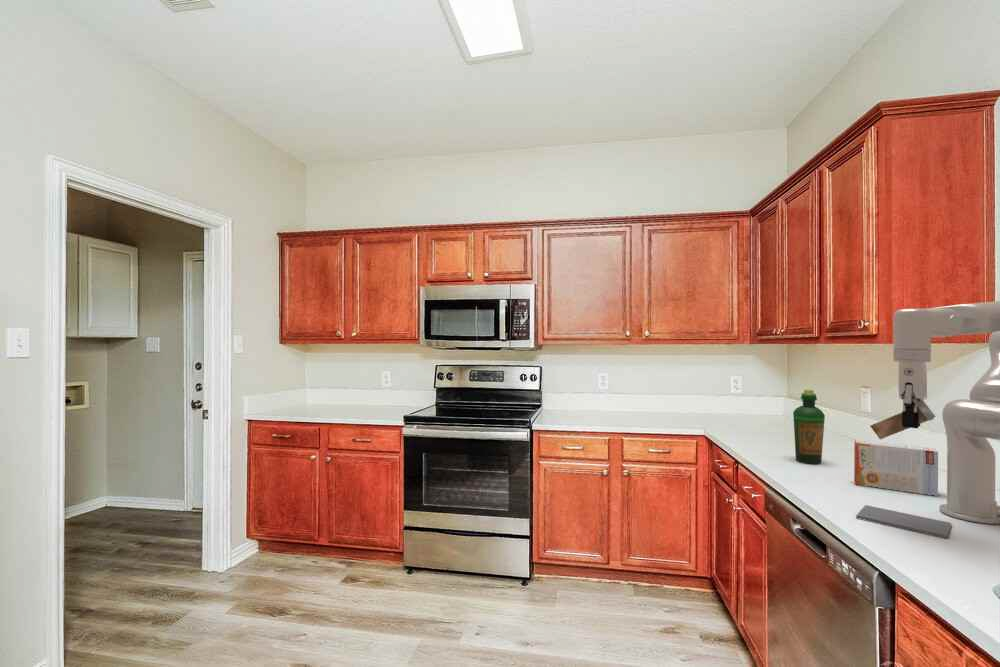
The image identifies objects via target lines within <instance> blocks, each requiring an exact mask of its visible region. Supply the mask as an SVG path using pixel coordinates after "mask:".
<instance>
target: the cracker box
mask: <svg viewBox="0 0 1000 667" xmlns="http://www.w3.org/2000/svg"><path fill="white" fill-rule="evenodd" d="M853 452H854V454H853V455H854V462H853V463H854V466H853V467H854V469H853V470H854V471H853V472H854V474H853V479H854V480H853V481H854V484H855V485H856V484H861V485H860V486H863V485H866V486H865V487H870V486H872V487H871V488H876V487H878V489H883V488H886V489H885V490H890V489H894V490H893V491H897V490H900V491H899V492H904V491H907V492H906V493H911V492H913V493H912V494H918V493H919V494H918V495H925V494H927V496H931V495H934V496H933V497H938V496H939V452H938V451H937V449H936V448H931V447H923V446H912V445H904V444H895V443H885V442H875V441H869V440H868V441H866V440H857V439H856V440H854V450H853Z"/></svg>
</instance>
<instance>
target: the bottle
mask: <svg viewBox="0 0 1000 667" xmlns="http://www.w3.org/2000/svg"><path fill="white" fill-rule="evenodd" d="M814 391H815V390H813V389H804V390H803V392H802V393H801V397H800V400H802V401H801V402H802V405H800V406H798V407H796V408H795V409H794V410H793V415H792V416H793V430H794V431H793V432H794V433H793V434H794V449H795V450H794V451H795V452H794V453H795V460H796V461H797V462H799V463H803V464H806V465H807V464H809V465H818V464H821V463H822V458H823V445H824V444H823V443H824V431H825V430H824V429H825V417H826V416H825V414H824V412H823V411H822V409H820V408H819V407H817V406H816V401H817V400H818V398H817V394H816V393H814Z"/></svg>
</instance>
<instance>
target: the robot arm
mask: <svg viewBox="0 0 1000 667" xmlns="http://www.w3.org/2000/svg"><path fill="white" fill-rule="evenodd" d="M987 333H991V334H990V335H989V338H988V350H989V356H990V363H991V364H990V367H989V368H988V369H987V371H986V372H984V373H983V375H982V376H981V377H980V378H979V379H978V380H977V381H976V382H975V384H974V385H973V386H972V387H971V389H970V391H969V399H965V398H964V399H961V398H960V399H955V400H951V401H949V402H947V403H946V404H945V405H944V407H943V409H942V421H943V426H944V430H945V435H946V448H947V449H946V450H947V451H946V452H947V454H946V457H947V458H946V503H942V504H940V505H939V507H938V508H939V511H940V512H942V513H943V514H944V515H947V516H950V517H952V518H956V519H960V520H964V521H968V522H972V523H973V522H974V523H981V524H991V525H996V524H1000V505H998V501H996V453H995V450H994V448H993V446H992V445H991V443H990V442H989V441H988V439H993V440H999V441H1000V300H997V301H996V300H994V301H986V302H984V301H983V302H975V303H974V302H973V303H961V304H953V305H947V306H939V307H937V306H936V307H929V308H928V307H927V308H901V309H897V310H895V311H894V313H893V332H892V334H893V343H892V345H893V346H892V347H893V353H892V354H893V355H892V356H893V357H892V358H893V362H898V377H897V378H898V397H899V398H900V399H901V400H902V411H901V412H902V426H903V427H909V428H908V429H911V428H912V429H918V428H919V427H920V426H921V424H919V413H917V405H916V404H915V403H914V402H913V400H912V399H914V398H916V399H920V401H925V400H926V399H927V398H928V384H927V383H928V380H927V379H928V376H927V374H928V373H927V363H931V362H932V338H950V337H953V336H964V335H965V336H969V335H980V334H987Z"/></svg>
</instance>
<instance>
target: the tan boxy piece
mask: <svg viewBox="0 0 1000 667" xmlns="http://www.w3.org/2000/svg"><path fill="white" fill-rule="evenodd" d="M912 400H913V402H914V403H915V404H916V405H917V413H919V424H920V425H921V424H923V423H926V422H928V421H929V422H930V421H932V420H934V419H935V417H936V416H937V415H935V414H934V413H933V412H934V411H932V410H931V409H930V406H928V404H927V403H926V402H925V400H923V401H920V399H916V398H914V399H912ZM869 427H870V428H871V430H873V432H874V433H875V434H876V436H877V438H878V439H879V440H883V439H885V438H888V437H890V436H893V435H895V434H897V433H901V432H903V431H905V430H907V429H910V428H909V427H903V426H902V411H901V412H900V413H897V414H895V415H892V416H889V417H887V418H885V419H882V420H879V421H878V422H875V423H873V424H870V425H869Z"/></svg>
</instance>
